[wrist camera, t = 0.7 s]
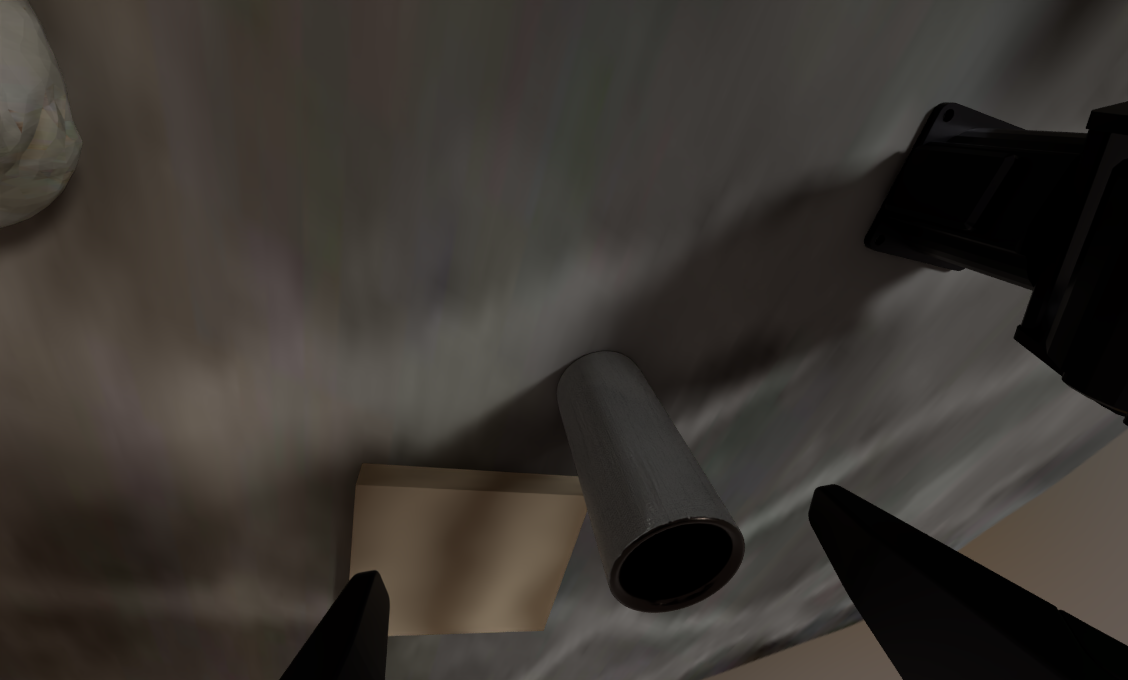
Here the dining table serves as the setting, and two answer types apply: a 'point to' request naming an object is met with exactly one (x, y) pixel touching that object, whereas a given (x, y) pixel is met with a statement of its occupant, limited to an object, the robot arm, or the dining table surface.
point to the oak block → (465, 545)
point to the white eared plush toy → (31, 118)
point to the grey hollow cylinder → (644, 490)
